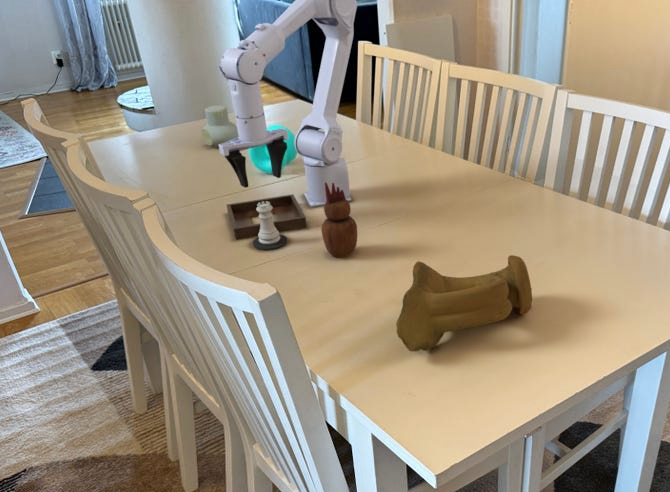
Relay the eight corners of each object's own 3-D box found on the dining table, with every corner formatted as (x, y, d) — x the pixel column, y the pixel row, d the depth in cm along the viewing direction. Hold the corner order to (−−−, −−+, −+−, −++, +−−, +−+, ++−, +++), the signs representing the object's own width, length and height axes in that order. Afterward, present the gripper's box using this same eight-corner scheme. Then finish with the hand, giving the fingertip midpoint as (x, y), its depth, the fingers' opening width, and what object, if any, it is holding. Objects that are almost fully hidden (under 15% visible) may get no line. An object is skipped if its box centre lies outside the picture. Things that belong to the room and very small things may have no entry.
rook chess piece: (271, 234, 142) (264, 197, 137) (285, 239, 140) (279, 202, 135) (254, 241, 139) (247, 204, 135) (268, 247, 137) (262, 210, 132)
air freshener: (201, 143, 195) (193, 107, 189) (227, 136, 199) (221, 101, 193) (216, 152, 187) (209, 115, 182) (244, 145, 191) (238, 109, 186)
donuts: (301, 162, 178) (296, 124, 173) (286, 176, 171) (281, 136, 165) (266, 160, 181) (260, 122, 175) (250, 174, 173) (243, 134, 167)
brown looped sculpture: (386, 259, 116) (513, 231, 115) (402, 331, 120) (526, 304, 119) (384, 280, 98) (535, 247, 97) (404, 364, 102) (549, 333, 101)
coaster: (284, 233, 143) (284, 231, 143) (290, 246, 138) (290, 245, 138) (250, 238, 142) (250, 236, 141) (255, 252, 136) (255, 250, 136)
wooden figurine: (327, 262, 132) (318, 187, 123) (322, 249, 136) (313, 177, 128) (361, 257, 133) (355, 183, 124) (355, 244, 138) (349, 172, 129)
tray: (294, 204, 156) (293, 194, 155) (307, 227, 145) (305, 217, 144) (228, 214, 152) (226, 204, 151) (235, 239, 141) (233, 229, 140)
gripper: (271, 103, 141) (281, 167, 149) (206, 118, 133) (220, 185, 141) (289, 110, 136) (298, 176, 144) (223, 126, 129) (236, 194, 137)
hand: (261, 181), depth 142 cm, fingers open, 7 cm apart
